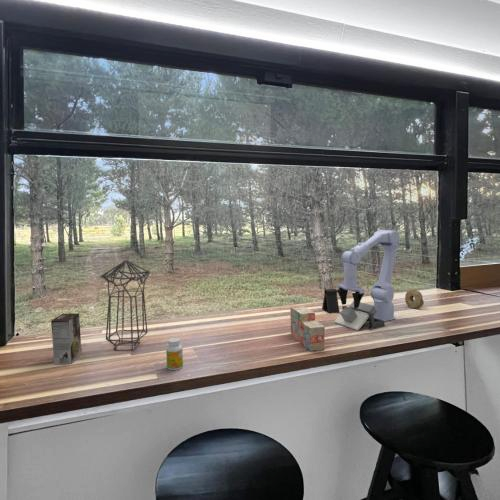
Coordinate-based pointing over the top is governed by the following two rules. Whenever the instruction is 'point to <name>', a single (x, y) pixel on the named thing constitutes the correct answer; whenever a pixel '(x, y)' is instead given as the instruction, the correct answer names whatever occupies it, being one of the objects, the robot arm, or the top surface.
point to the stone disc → (418, 299)
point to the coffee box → (66, 338)
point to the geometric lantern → (122, 265)
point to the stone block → (348, 314)
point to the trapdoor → (360, 316)
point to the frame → (372, 320)
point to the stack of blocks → (307, 328)
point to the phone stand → (330, 301)
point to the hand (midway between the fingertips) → (350, 306)
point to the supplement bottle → (174, 354)
